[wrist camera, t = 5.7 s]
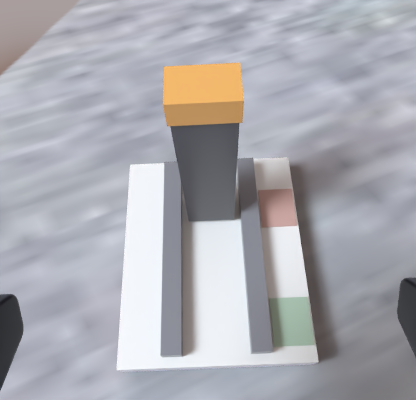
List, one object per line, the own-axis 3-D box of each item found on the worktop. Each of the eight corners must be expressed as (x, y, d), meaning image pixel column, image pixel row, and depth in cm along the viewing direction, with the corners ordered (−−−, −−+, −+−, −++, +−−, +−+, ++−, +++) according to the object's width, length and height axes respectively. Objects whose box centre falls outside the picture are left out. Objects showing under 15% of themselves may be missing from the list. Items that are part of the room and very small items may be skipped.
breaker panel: (312, 364, 21) (322, 360, 19) (123, 372, 21) (111, 368, 19) (284, 169, 26) (290, 149, 24) (134, 176, 26) (127, 157, 24)
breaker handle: (235, 221, 23) (243, 101, 14) (187, 223, 23) (162, 104, 14) (233, 193, 24) (240, 62, 14) (186, 195, 24) (163, 66, 15)
